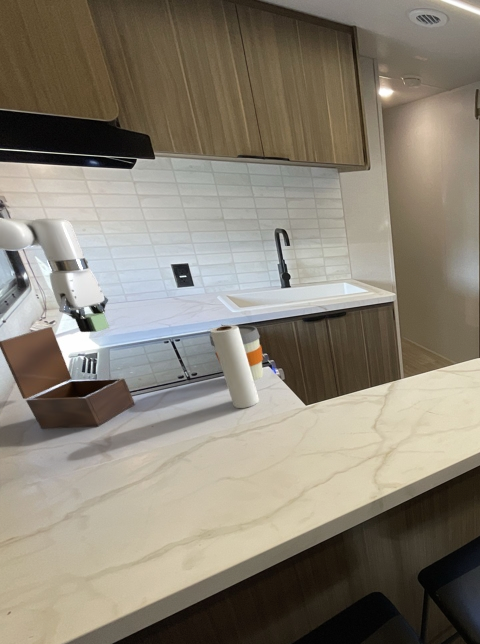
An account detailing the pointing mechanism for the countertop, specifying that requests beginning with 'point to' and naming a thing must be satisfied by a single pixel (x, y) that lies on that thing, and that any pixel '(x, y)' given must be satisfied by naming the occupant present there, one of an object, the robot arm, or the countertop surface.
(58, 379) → the lid
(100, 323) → the block
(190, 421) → the countertop surface
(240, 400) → the paper towel roll
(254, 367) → the reusable coffee cup
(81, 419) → the chest
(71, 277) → the robot arm
